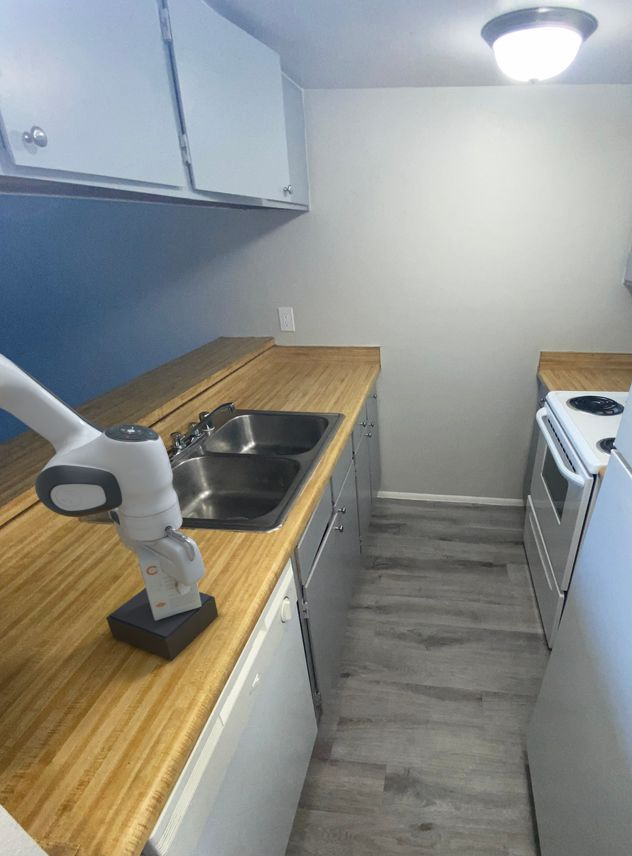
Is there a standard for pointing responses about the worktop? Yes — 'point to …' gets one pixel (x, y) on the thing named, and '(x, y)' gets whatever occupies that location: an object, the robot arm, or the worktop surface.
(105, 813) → the worktop surface
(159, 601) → the small box
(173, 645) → the dark gray box
